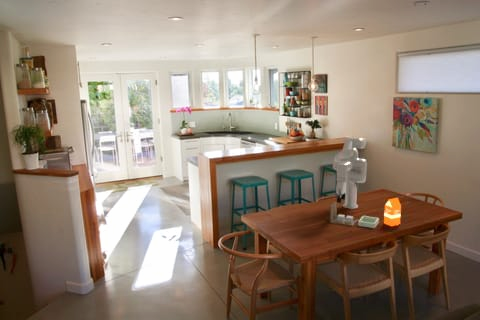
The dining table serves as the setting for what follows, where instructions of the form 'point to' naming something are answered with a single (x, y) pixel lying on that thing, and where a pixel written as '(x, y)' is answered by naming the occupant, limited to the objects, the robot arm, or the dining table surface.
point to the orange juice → (392, 212)
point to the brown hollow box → (334, 216)
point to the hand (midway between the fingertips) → (341, 200)
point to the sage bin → (368, 221)
